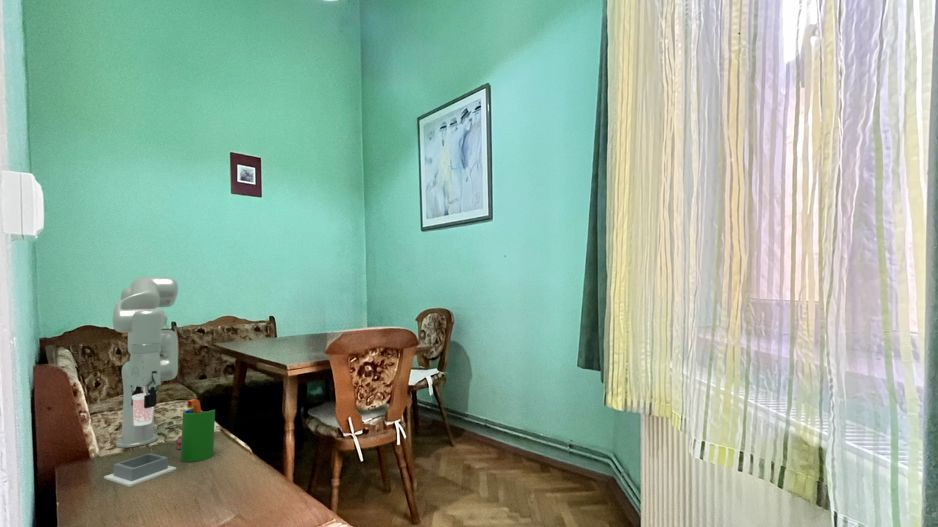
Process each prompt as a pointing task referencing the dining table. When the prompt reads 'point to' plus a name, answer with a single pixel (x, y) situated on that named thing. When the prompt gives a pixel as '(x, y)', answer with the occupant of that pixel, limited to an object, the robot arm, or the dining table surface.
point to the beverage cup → (141, 410)
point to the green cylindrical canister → (197, 433)
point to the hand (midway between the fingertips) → (143, 405)
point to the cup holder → (139, 469)
